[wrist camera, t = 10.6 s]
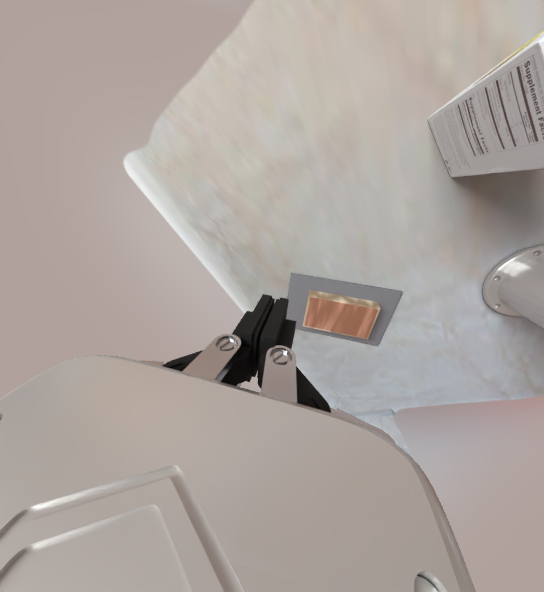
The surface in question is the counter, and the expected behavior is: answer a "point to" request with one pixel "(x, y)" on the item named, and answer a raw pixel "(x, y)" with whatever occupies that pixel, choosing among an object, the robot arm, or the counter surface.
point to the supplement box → (496, 118)
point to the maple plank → (340, 314)
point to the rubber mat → (305, 283)
